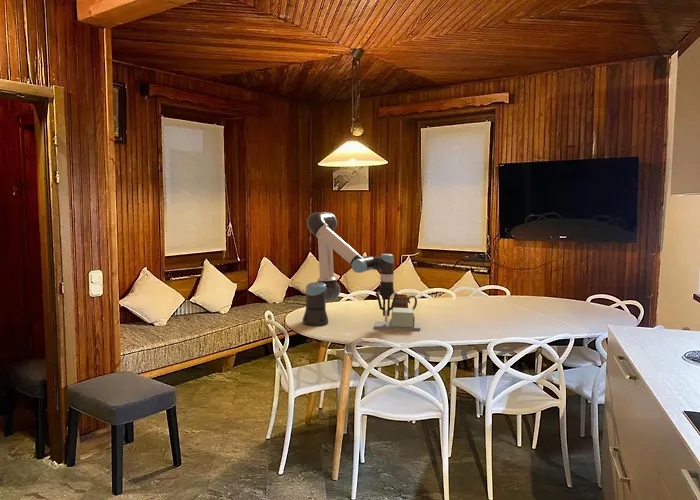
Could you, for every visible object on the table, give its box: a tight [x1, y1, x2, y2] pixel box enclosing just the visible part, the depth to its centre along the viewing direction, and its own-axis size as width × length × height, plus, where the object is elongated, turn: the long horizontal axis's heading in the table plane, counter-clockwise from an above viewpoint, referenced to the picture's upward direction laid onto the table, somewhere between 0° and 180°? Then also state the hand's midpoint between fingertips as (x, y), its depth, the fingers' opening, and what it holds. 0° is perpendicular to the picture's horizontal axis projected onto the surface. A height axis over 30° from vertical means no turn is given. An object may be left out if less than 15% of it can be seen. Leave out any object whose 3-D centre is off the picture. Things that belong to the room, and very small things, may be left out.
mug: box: [393, 293, 418, 311], centre depth 336 cm, size 16×11×15 cm
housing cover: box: [391, 307, 414, 327], centre depth 316 cm, size 12×12×8 cm
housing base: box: [373, 320, 421, 332], centre depth 316 cm, size 26×12×6 cm, turn 85°
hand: (386, 321), depth 317 cm, fingers closed
